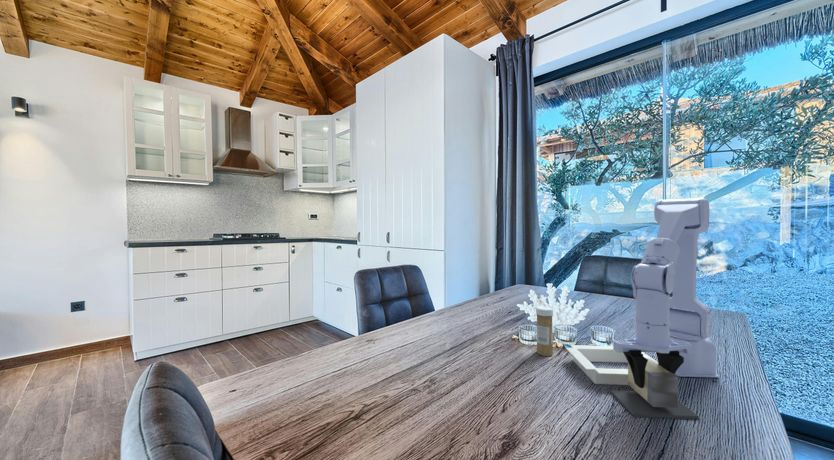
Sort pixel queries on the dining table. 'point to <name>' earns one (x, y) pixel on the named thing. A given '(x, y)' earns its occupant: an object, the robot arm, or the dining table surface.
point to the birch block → (657, 386)
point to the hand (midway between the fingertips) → (651, 386)
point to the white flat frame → (601, 354)
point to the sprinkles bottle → (544, 330)
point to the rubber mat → (650, 407)
